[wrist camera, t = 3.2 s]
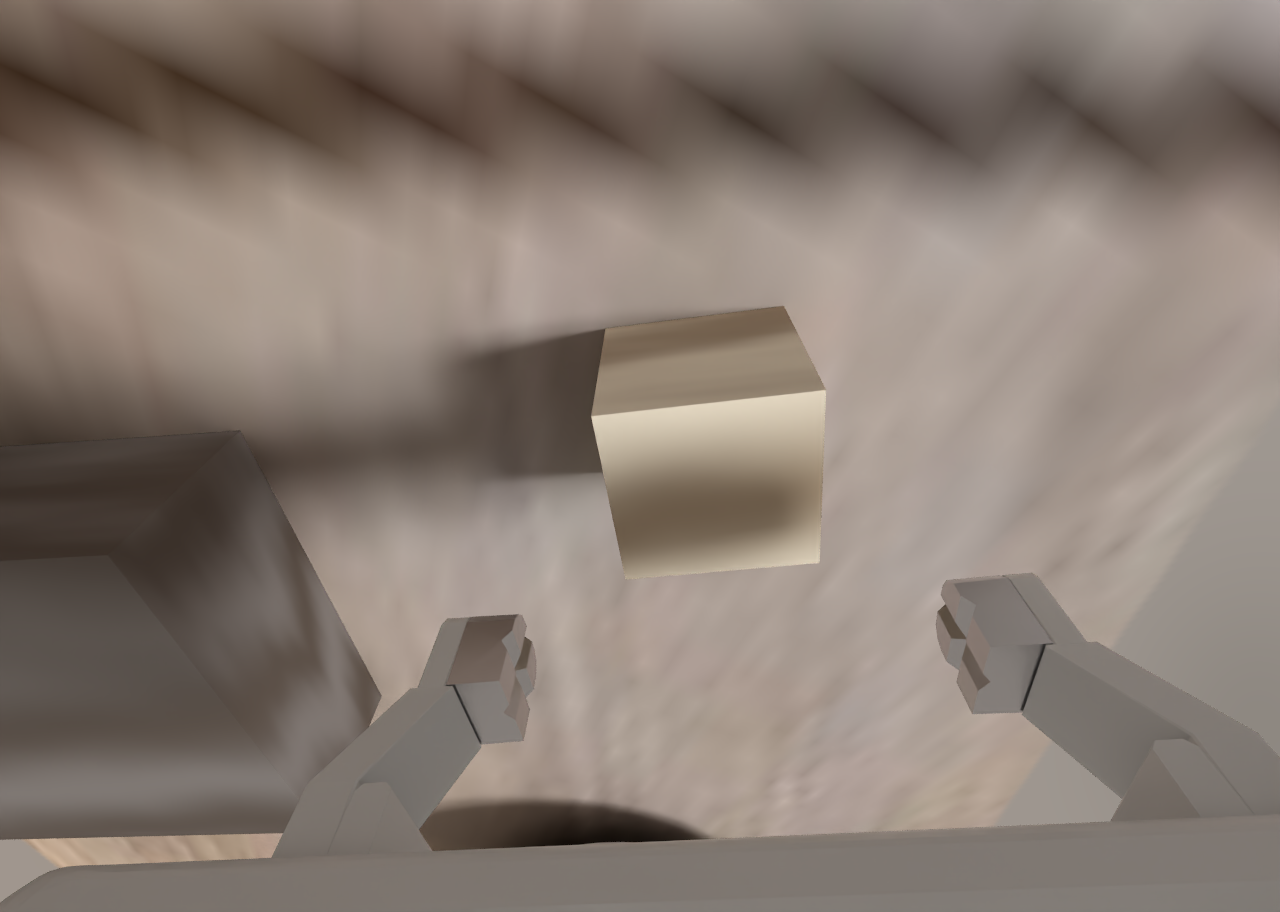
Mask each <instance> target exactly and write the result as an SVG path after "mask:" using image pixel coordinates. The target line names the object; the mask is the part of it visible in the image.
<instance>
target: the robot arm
mask: <svg viewBox="0 0 1280 912" xmlns="http://www.w3.org/2000/svg"><path fill="white" fill-rule="evenodd" d="M941 596H942V598H943V600H944V602H945V605H944V606H943V607H942V608H941V609H940V610H939V611H938V612H937V620H936V630H937V638H938V642H939V645H940V648H941V651H942V653H943V655H944V657H945V659H946V661H947V662H948V663H949V664H951V665H952V666H954V667H955V668H956V669H958V670H959V673H958V678H957V684H958V686H959V688H960V690H961V692H962V694H963V696H964V698H965V700H966V702H967V704H968V706H969V708H970V710H971V712H972V714H989V713H1019V712H1023V713H1022V715H1023V716H1024V717H1025V718H1026V719H1028V720H1029V721H1030V722H1031V723H1032V724H1033V725H1035V726H1036V727H1037V728H1038V729H1039V730H1041V731H1042V732H1043V733H1044V734H1045V735H1047V736H1048V737H1049V738H1050V739H1051V740H1053V741H1054V742H1055V743H1056V744H1057V745H1059V746H1060V747H1061V748H1062V749H1064V751H1066V752H1067V753H1068V754H1069V755H1070V756H1072V757H1073V758H1074V759H1075V760H1076V761H1078V762H1079V763H1080V764H1081V765H1083V766H1084V767H1085V768H1086V769H1087V770H1089V772H1091V773H1092V774H1093V775H1094V776H1095V777H1097V778H1098V779H1099V780H1100V781H1101V782H1103V783H1104V784H1105V785H1106V786H1108V787H1109V788H1110V789H1111V790H1112V791H1113V792H1115V793H1116V794H1117V795H1118V796H1119V797H1120V798H1122V801H1121V803H1120V804H1119V806H1118V808H1117V810H1116V812H1115V814H1114V815H1113V817H1112V819H1111V821H1110V822H1090V823H1069V824H1045V825H1022V826H998V827H975V828H952V829H929V830H905V831H882V832H859V833H836V834H813V835H790V836H768V837H745V838H723V839H701V840H678V841H655V842H632V843H609V844H586V845H563V846H540V847H517V848H494V849H470V850H447V851H432V849H431V848H430V846H429V845H428V843H427V842H426V840H425V839H424V837H423V836H422V834H421V833H420V831H419V829H420V828H421V826H422V825H423V824H424V822H425V821H426V820H427V818H428V817H429V816H430V814H431V813H432V812H433V810H434V809H435V808H436V806H437V805H438V804H439V802H440V801H441V800H442V798H443V797H444V796H445V795H446V793H447V792H448V791H449V789H450V788H451V787H452V785H453V784H454V783H455V781H456V780H457V779H458V777H459V776H460V775H461V773H462V772H463V771H464V769H465V768H466V767H467V765H468V764H469V763H470V761H471V760H472V759H473V758H474V756H475V755H476V754H477V752H478V751H479V750H480V748H481V745H480V744H492V743H503V742H514V741H524V736H525V731H526V726H527V721H528V716H529V711H530V708H529V706H528V703H527V700H526V697H527V696H528V695H529V694H530V693H531V692H532V691H533V689H534V685H535V679H536V656H535V650H534V647H533V644H532V641H530V640H529V639H527V638H526V637H525V632H526V627H527V626H526V624H525V621H524V618H523V616H522V615H519V614H516V615H497V616H478V617H466V618H448V619H447V620H446V621H445V622H444V623H443V624H442V625H441V628H440V631H439V633H438V636H437V639H436V641H435V644H434V646H433V649H432V652H431V654H430V657H429V659H428V662H427V665H426V667H425V670H424V673H423V675H422V678H421V680H420V683H419V686H418V688H412V689H409V690H408V691H407V692H406V693H405V694H404V695H403V696H402V697H401V698H400V699H399V700H398V701H396V702H395V703H394V704H393V705H392V706H391V707H390V708H389V709H388V710H387V711H386V712H385V713H383V714H382V715H381V716H380V717H379V718H378V719H377V720H376V721H375V722H374V723H373V724H372V725H370V726H369V727H368V728H367V729H366V730H365V731H364V732H363V733H362V734H361V735H360V736H359V737H357V738H356V739H355V740H354V741H353V742H352V743H351V744H350V745H349V746H348V747H347V748H346V749H344V750H343V751H342V752H341V753H340V754H339V755H338V756H337V757H336V758H335V759H334V760H333V761H331V762H330V763H329V764H328V765H327V766H326V767H325V768H324V769H323V770H322V771H321V772H320V773H318V774H317V775H316V776H315V777H314V778H313V779H312V780H311V781H310V782H309V783H308V784H307V785H306V787H305V790H304V792H303V794H302V796H301V798H300V800H299V802H298V804H297V806H296V808H295V810H294V812H293V814H292V816H291V818H290V820H289V823H288V825H287V827H286V829H285V831H284V833H283V835H282V837H281V839H280V841H279V843H278V845H277V847H276V849H275V851H274V853H273V856H272V858H259V859H235V860H212V861H188V862H165V863H142V864H117V865H85V866H71V867H64V868H59V869H56V870H53V871H50V872H47V873H45V874H43V875H41V876H39V877H38V878H36V879H34V880H33V881H31V882H30V883H28V884H27V885H25V886H24V887H22V888H20V889H19V890H17V891H16V892H14V893H13V894H12V895H10V896H9V897H7V898H6V899H4V900H3V901H2V902H0V912H1280V757H1279V756H1278V755H1277V754H1276V752H1275V751H1274V750H1273V749H1272V748H1271V747H1270V746H1269V745H1268V744H1267V743H1266V741H1265V740H1264V739H1263V738H1262V737H1261V736H1260V735H1259V734H1258V733H1257V732H1255V731H1254V730H1252V729H1250V728H1248V727H1247V726H1245V725H1243V724H1241V723H1240V722H1238V721H1236V720H1234V719H1232V718H1231V717H1229V716H1227V715H1225V714H1224V713H1222V712H1220V711H1218V710H1216V709H1215V708H1213V707H1211V706H1209V705H1207V704H1206V703H1204V702H1202V701H1201V700H1199V699H1197V698H1195V697H1193V696H1192V695H1190V694H1188V693H1186V692H1185V691H1183V690H1181V689H1179V688H1178V687H1176V686H1174V685H1172V684H1170V683H1168V682H1167V681H1165V680H1163V679H1161V678H1160V677H1158V676H1156V675H1155V674H1153V673H1151V672H1149V671H1147V670H1146V669H1144V668H1142V667H1140V666H1139V665H1137V664H1135V663H1133V662H1131V661H1130V660H1128V659H1126V658H1124V657H1123V656H1121V655H1119V654H1117V653H1115V652H1114V651H1112V650H1110V649H1108V648H1107V647H1105V646H1103V645H1101V644H1100V643H1098V642H1087V641H1086V639H1085V638H1084V637H1083V635H1082V634H1081V633H1080V632H1079V630H1078V629H1077V628H1076V626H1075V625H1074V624H1073V622H1072V621H1071V620H1070V618H1069V617H1068V616H1067V614H1066V613H1065V612H1064V610H1063V609H1062V608H1061V606H1060V605H1059V604H1058V602H1057V601H1056V600H1055V598H1054V597H1053V596H1052V595H1051V593H1050V592H1049V591H1048V589H1047V588H1046V587H1045V585H1044V584H1043V583H1042V581H1041V580H1040V579H1039V577H1038V576H1036V575H1035V574H1033V573H1023V574H1012V575H1003V576H1000V575H998V576H987V577H976V578H965V579H953V580H946V582H945V583H944V584H943V587H942V592H941Z"/></svg>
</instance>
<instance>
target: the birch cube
mask: <svg viewBox="0 0 1280 912" xmlns="http://www.w3.org/2000/svg"><path fill="white" fill-rule="evenodd" d="M825 404H826V389H825V387H824V385H823V383H822V381H821V379H820V377H819V375H818V373H817V371H816V369H815V367H814V365H813V363H812V361H811V359H810V357H809V355H808V353H807V351H806V349H805V347H804V345H803V343H802V341H801V339H800V337H799V335H798V333H797V331H796V329H795V327H794V325H793V323H792V321H791V319H790V317H789V315H788V313H787V311H786V309H785V308H784V306H781V307H773V308H765V309H757V310H749V311H741V312H733V313H725V314H717V315H709V316H701V317H693V318H685V319H677V320H669V321H661V322H653V323H645V324H637V325H629V326H621V327H613V328H606V329H605V335H604V341H603V347H602V353H601V359H600V365H599V372H598V378H597V384H596V390H595V396H594V402H593V408H592V414H591V418H592V422H593V427H594V432H595V437H596V441H597V446H598V451H599V456H600V460H601V465H602V470H603V474H604V479H605V484H606V489H607V493H608V498H609V503H610V508H611V512H612V517H613V522H614V527H615V531H616V536H617V541H618V545H619V550H620V555H621V560H622V564H623V569H624V574H625V579H626V580H627V579H638V578H650V577H661V576H673V575H684V574H696V573H707V572H719V571H731V570H742V569H754V568H765V567H777V566H788V565H800V564H811V563H820V536H821V510H822V483H823V457H824V430H825Z"/></svg>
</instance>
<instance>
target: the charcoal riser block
mask: <svg viewBox="0 0 1280 912" xmlns="http://www.w3.org/2000/svg"><path fill="white" fill-rule="evenodd" d="M380 699H381V694H380V692H379V690H378V688H377V686H376V684H375V683H374V681H373V679H372V677H371V675H370V673H369V671H368V669H367V668H366V666H365V664H364V662H363V660H362V658H361V656H360V654H359V653H358V651H357V649H356V647H355V645H354V643H353V641H352V639H351V638H350V636H349V634H348V632H347V630H346V628H345V626H344V624H343V623H342V621H341V619H340V617H339V615H338V613H337V611H336V609H335V608H334V606H333V604H332V602H331V600H330V598H329V596H328V594H327V593H326V591H325V589H324V587H323V585H322V583H321V581H320V579H319V578H318V576H317V574H316V572H315V570H314V568H313V566H312V564H311V563H310V561H309V559H308V557H307V555H306V553H305V551H304V549H303V548H302V546H301V544H300V542H299V540H298V538H297V536H296V534H295V533H294V531H293V529H292V527H291V525H290V523H289V521H288V519H287V518H286V516H285V514H284V512H283V510H282V508H281V506H280V504H279V503H278V501H277V499H276V497H275V495H274V493H273V491H272V490H271V488H270V486H269V484H268V482H267V480H266V478H265V476H264V475H263V473H262V471H261V469H260V467H259V465H258V463H257V461H256V460H255V458H254V456H253V454H252V452H251V450H250V448H249V446H248V445H247V443H246V441H245V439H244V437H243V435H242V433H241V431H228V432H213V433H198V434H183V435H168V436H153V437H138V438H123V439H108V440H93V441H78V442H63V443H48V444H33V445H18V446H3V447H0V840H1V839H2V840H4V839H47V838H90V837H133V836H176V835H219V834H262V833H284V831H285V829H286V827H287V825H288V823H289V820H290V818H291V816H292V814H293V812H294V810H295V808H296V806H297V804H298V802H299V800H300V798H301V796H302V794H303V792H304V790H305V787H306V785H307V784H308V783H309V782H310V781H311V780H312V779H313V778H314V777H315V776H316V775H317V774H318V773H320V772H321V771H322V770H323V769H324V768H325V767H326V766H327V765H328V764H329V763H330V762H331V761H333V760H334V759H335V758H336V757H337V756H338V755H339V754H340V753H341V752H342V751H343V750H344V749H346V748H347V747H348V746H349V745H350V744H351V743H352V742H353V741H354V740H355V739H356V738H357V737H359V736H360V735H361V734H362V733H363V732H364V731H365V730H366V729H367V728H368V727H369V725H370V723H371V720H372V718H373V715H374V713H375V711H376V708H377V706H378V703H379V701H380Z"/></svg>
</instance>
